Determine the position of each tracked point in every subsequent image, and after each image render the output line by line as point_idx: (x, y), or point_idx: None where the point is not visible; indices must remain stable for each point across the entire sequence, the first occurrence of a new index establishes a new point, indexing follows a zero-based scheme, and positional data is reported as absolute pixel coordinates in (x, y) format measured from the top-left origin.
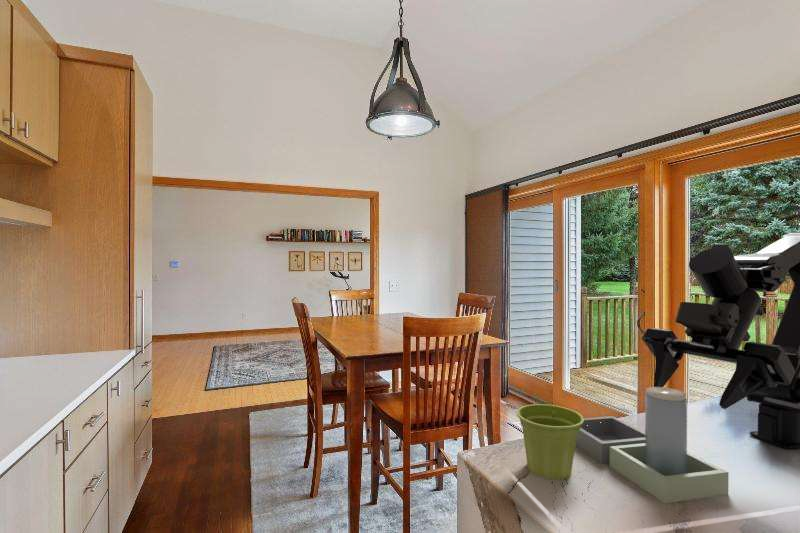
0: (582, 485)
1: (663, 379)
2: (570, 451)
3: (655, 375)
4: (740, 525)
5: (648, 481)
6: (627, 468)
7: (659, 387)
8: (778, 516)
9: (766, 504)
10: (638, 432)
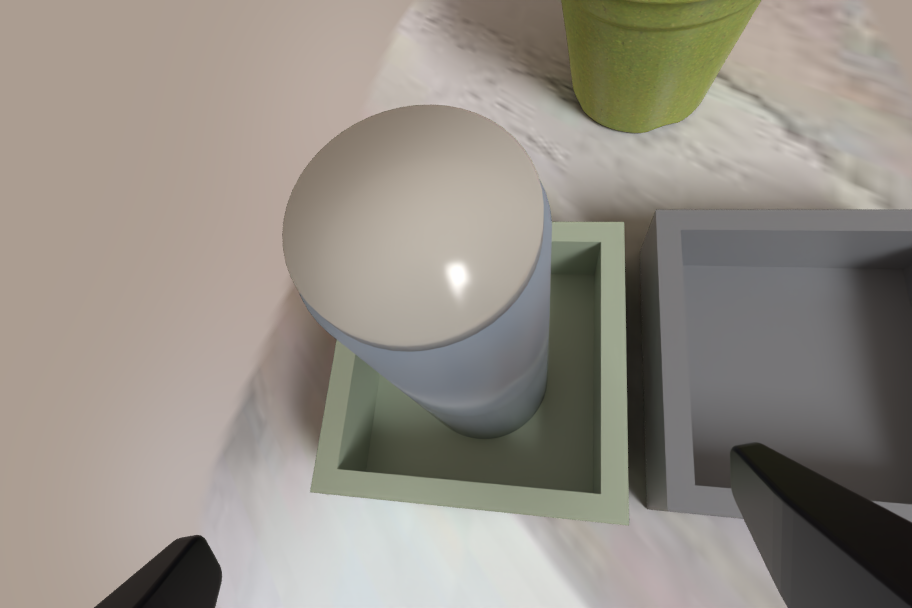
0: (541, 129)
1: (815, 597)
2: (567, 30)
3: (866, 508)
4: (254, 380)
5: None
6: None
7: (515, 257)
8: (230, 543)
9: (279, 588)
10: None
